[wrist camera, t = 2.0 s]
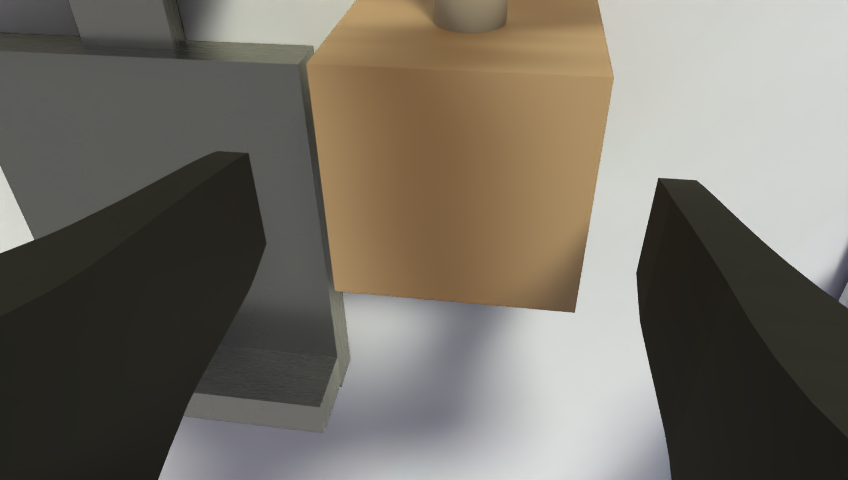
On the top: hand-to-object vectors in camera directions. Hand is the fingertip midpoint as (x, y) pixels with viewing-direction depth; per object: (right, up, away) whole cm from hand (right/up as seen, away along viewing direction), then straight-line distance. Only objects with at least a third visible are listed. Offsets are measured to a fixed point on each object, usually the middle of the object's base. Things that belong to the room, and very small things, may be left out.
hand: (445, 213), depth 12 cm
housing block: (+1, +3, +4) cm, 5 cm away
